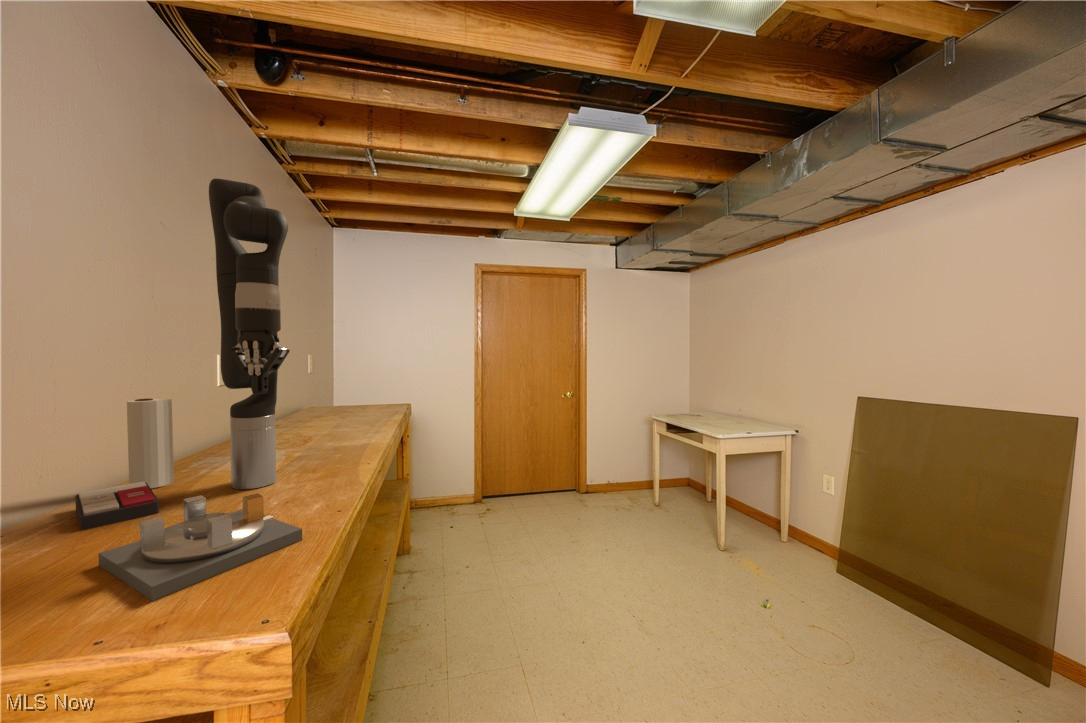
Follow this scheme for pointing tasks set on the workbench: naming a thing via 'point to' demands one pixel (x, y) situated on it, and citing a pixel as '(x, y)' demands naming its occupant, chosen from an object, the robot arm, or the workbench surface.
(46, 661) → the workbench surface
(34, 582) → the workbench surface
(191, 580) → the base plate
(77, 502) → the calculator
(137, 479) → the paper towel roll
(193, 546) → the lugged metal dish
